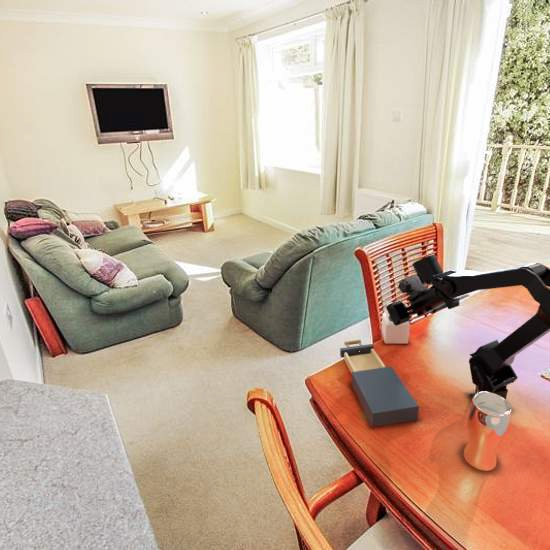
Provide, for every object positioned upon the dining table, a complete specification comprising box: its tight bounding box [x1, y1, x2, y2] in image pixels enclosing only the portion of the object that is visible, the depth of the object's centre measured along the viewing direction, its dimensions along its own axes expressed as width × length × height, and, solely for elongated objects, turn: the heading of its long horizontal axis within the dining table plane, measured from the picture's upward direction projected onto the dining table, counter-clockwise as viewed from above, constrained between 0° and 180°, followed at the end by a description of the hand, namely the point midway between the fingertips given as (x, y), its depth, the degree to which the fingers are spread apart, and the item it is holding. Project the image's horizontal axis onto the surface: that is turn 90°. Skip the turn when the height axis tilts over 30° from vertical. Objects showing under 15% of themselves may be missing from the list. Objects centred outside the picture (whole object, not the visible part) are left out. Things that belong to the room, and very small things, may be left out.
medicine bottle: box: [381, 301, 411, 345], centre depth 118 cm, size 7×7×12 cm
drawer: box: [339, 339, 386, 375], centre depth 108 cm, size 18×10×3 cm, turn 8°
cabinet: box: [350, 366, 420, 428], centre depth 94 cm, size 15×11×4 cm
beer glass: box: [463, 392, 512, 472], centre depth 75 cm, size 7×7×15 cm
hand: (401, 315), depth 115 cm, fingers open, 9 cm apart
